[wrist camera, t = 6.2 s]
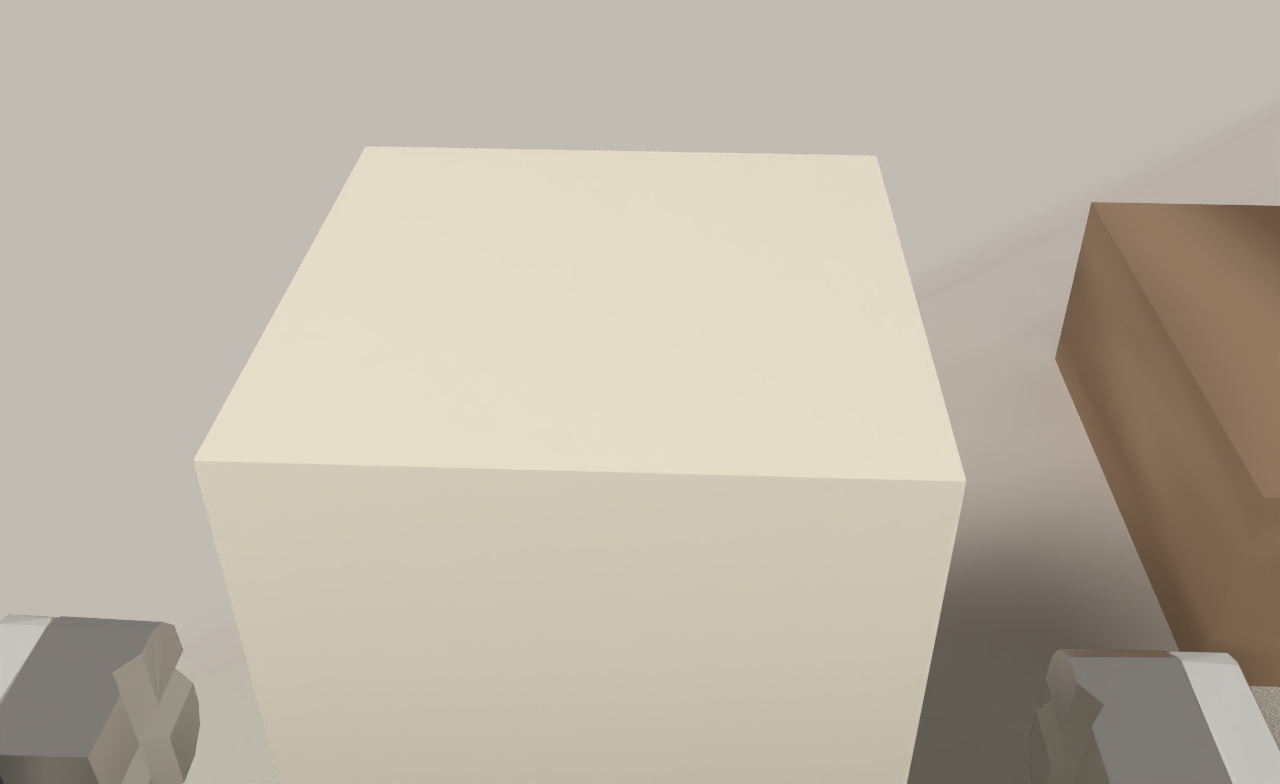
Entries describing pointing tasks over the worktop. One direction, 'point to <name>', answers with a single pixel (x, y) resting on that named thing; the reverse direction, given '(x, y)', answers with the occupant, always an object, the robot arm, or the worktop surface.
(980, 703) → the worktop surface
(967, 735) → the worktop surface
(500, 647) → the cream pillar
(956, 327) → the worktop surface
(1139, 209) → the walnut block
